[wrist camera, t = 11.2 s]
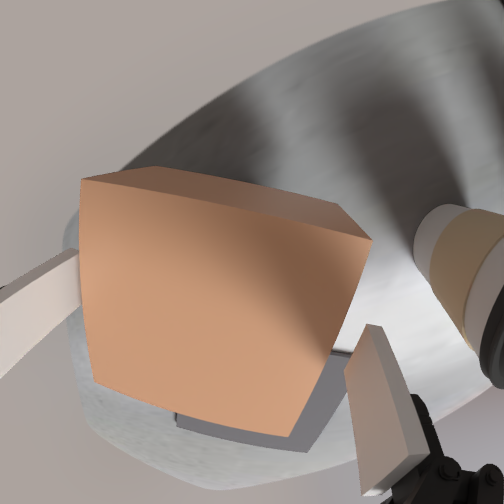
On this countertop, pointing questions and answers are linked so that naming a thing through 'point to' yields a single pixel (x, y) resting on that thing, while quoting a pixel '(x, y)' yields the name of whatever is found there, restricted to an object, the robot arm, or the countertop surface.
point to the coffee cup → (467, 277)
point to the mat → (308, 423)
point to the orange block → (213, 292)
